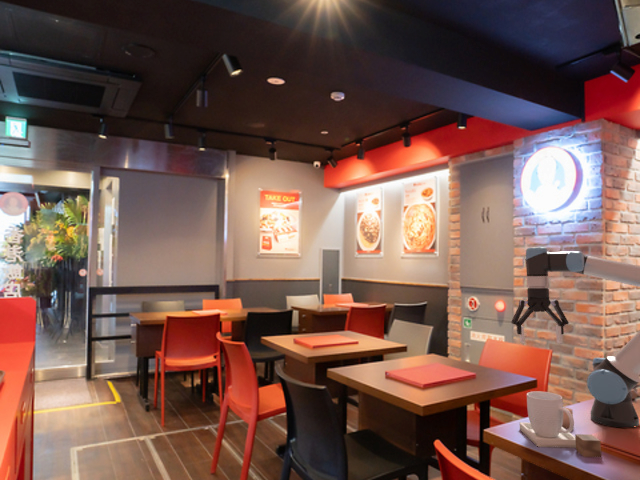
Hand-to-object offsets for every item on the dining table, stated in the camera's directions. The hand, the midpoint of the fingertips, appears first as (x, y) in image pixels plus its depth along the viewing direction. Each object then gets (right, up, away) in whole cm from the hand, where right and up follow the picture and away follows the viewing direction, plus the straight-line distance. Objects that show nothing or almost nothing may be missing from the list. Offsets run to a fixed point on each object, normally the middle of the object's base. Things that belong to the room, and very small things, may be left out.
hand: (540, 343), depth 170 cm
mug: (-7, -27, -20) cm, 34 cm away
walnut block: (-2, -27, -33) cm, 42 cm away
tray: (-7, -27, -20) cm, 35 cm away
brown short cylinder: (+5, -28, -9) cm, 30 cm away
